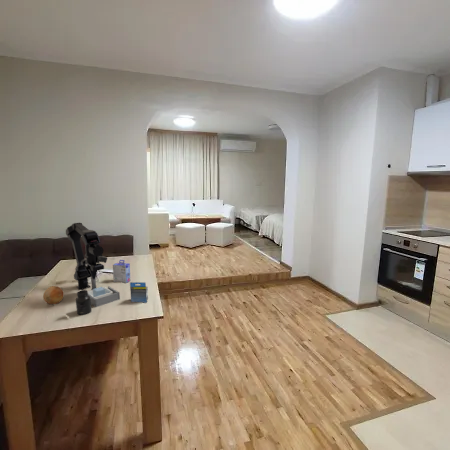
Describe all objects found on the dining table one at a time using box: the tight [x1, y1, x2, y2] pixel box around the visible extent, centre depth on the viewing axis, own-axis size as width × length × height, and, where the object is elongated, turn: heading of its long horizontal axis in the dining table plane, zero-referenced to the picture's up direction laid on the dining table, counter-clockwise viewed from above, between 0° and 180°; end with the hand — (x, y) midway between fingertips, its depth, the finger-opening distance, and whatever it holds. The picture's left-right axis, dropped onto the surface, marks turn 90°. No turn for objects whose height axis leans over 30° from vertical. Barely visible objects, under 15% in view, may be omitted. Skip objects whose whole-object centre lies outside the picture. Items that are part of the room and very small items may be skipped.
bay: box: [88, 285, 121, 308], centre depth 159 cm, size 13×14×5 cm
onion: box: [42, 285, 65, 305], centre depth 155 cm, size 10×10×10 cm
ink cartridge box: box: [112, 259, 131, 284], centre depth 187 cm, size 10×6×14 cm, turn 78°
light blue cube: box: [93, 286, 106, 297], centre depth 161 cm, size 5×5×5 cm
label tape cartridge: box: [129, 281, 149, 304], centre depth 158 cm, size 9×4×12 cm, turn 91°
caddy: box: [87, 276, 113, 299], centre depth 162 cm, size 14×11×12 cm
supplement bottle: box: [75, 289, 93, 316], centre depth 144 cm, size 7×7×12 cm
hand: (93, 278), depth 165 cm, fingers closed on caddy, 2 cm apart
